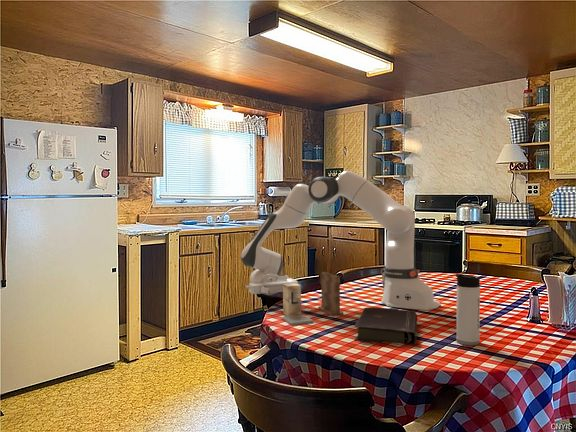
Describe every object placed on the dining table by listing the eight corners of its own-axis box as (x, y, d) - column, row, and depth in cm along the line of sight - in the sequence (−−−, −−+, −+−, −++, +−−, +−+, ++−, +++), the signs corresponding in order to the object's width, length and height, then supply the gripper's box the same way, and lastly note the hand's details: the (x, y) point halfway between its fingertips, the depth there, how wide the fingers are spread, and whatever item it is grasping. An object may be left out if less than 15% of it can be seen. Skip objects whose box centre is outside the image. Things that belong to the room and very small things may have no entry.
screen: (318, 308, 176) (318, 272, 175) (328, 307, 177) (328, 271, 177) (332, 315, 165) (332, 277, 164) (343, 314, 166) (343, 276, 166)
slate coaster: (303, 317, 164) (303, 314, 164) (313, 322, 156) (313, 320, 156) (282, 319, 161) (282, 317, 161) (291, 325, 153) (291, 322, 153)
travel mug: (451, 339, 136) (451, 272, 136) (473, 338, 137) (473, 272, 136) (461, 346, 130) (461, 276, 129) (483, 345, 131) (484, 275, 130)
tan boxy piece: (295, 312, 171) (295, 282, 170) (301, 315, 166) (301, 285, 165) (283, 313, 169) (283, 284, 168) (288, 316, 164) (288, 286, 164)
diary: (417, 324, 155) (417, 310, 155) (416, 348, 131) (416, 331, 131) (361, 320, 160) (362, 306, 160) (351, 342, 136) (351, 325, 136)
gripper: (244, 278, 188) (254, 284, 175) (290, 274, 195) (303, 280, 182) (244, 293, 188) (254, 300, 175) (290, 289, 195) (303, 296, 182)
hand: (279, 290), depth 179 cm, fingers open, 8 cm apart
